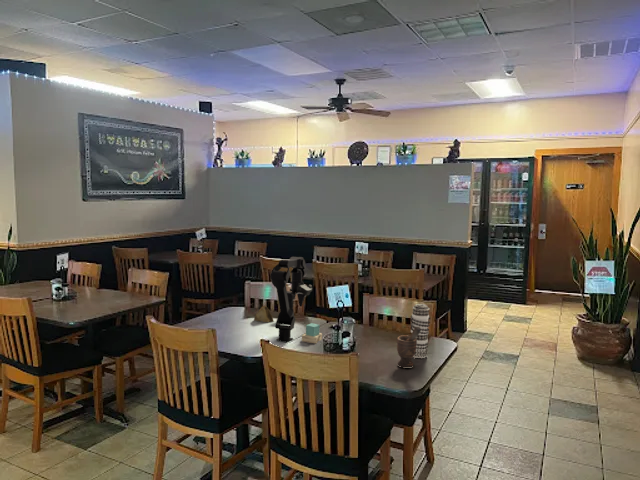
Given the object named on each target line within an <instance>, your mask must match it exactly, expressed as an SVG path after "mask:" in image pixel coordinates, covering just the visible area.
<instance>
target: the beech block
mask: <svg viewBox="0 0 640 480" xmlns="http://www.w3.org/2000/svg"><path fill="white" fill-rule="evenodd" d="M322 339H323V333H321V332H319V335H316V336H309V335H306V332H305V333H303V334H301V342H305V343H310V344H317V342H318V341H319V342H320V341H321V340H322ZM319 342H318V343H319Z"/></svg>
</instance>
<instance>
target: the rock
mask: <svg viewBox="0 0 640 480" xmlns="http://www.w3.org/2000/svg"><path fill="white" fill-rule="evenodd" d="M253 318H254V319H253V320H254V321H256V322H261V321H263V322H262V323H273V322H274V317H273V315H272V314H271V311H270V309H269V308H268V307H267V305H263V306H261V307H260V309H259V310H258V311H257V312H256V313H255V316H254V317H253Z"/></svg>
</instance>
